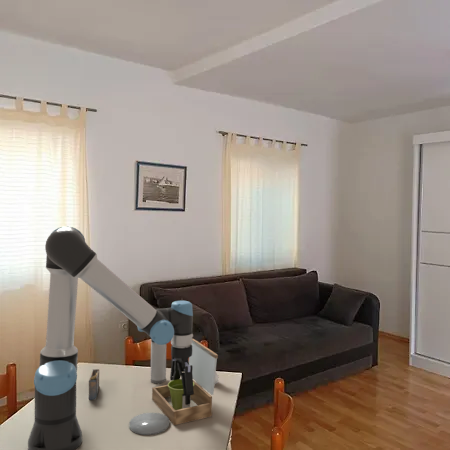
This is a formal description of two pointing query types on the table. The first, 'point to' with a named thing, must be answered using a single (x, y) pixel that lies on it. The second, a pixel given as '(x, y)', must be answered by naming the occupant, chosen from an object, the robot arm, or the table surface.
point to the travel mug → (158, 363)
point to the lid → (203, 366)
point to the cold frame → (184, 414)
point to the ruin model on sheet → (94, 384)
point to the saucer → (149, 423)
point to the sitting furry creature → (215, 379)
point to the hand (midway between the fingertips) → (181, 406)
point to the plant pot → (176, 393)
